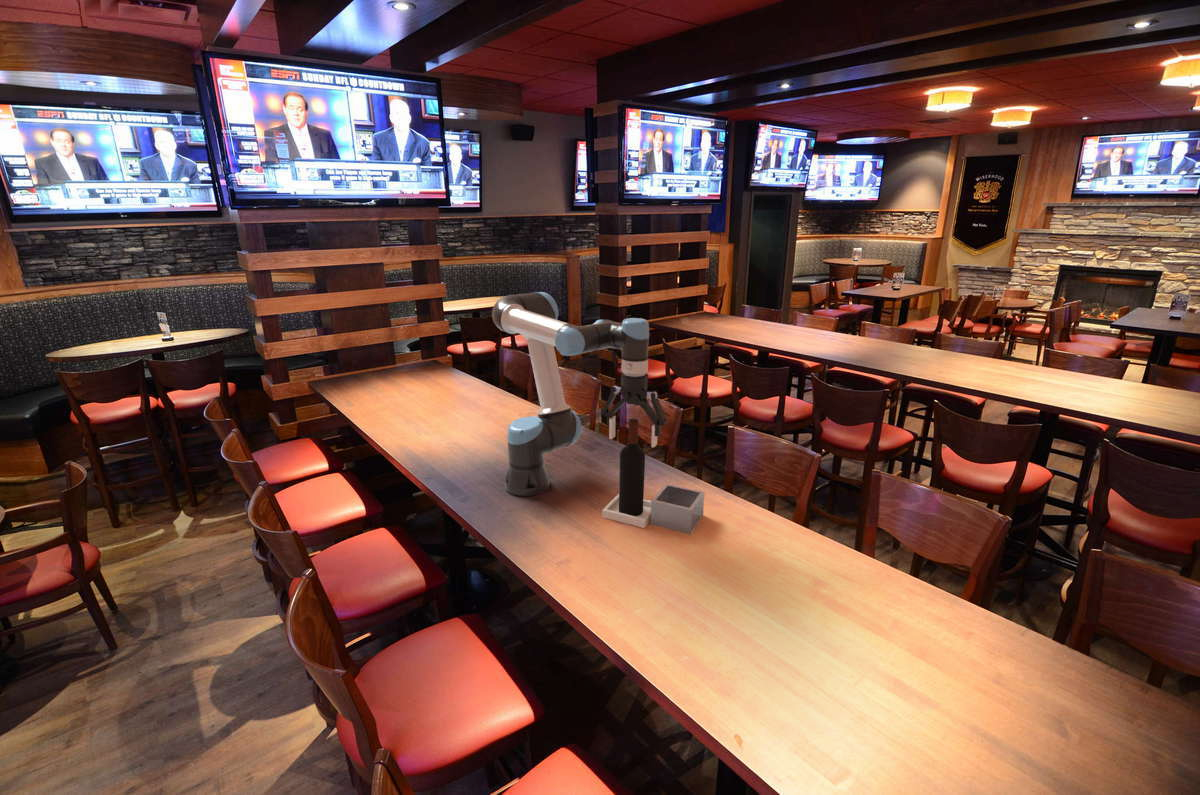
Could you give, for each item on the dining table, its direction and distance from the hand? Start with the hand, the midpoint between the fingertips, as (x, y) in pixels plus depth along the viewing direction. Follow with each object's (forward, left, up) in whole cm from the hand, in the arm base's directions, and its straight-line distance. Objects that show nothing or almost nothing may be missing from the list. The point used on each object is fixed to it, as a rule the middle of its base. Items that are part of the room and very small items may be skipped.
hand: (632, 441), depth 172 cm
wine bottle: (0, 0, -23) cm, 23 cm away
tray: (0, 0, -24) cm, 24 cm away
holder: (+14, +3, -24) cm, 28 cm away
